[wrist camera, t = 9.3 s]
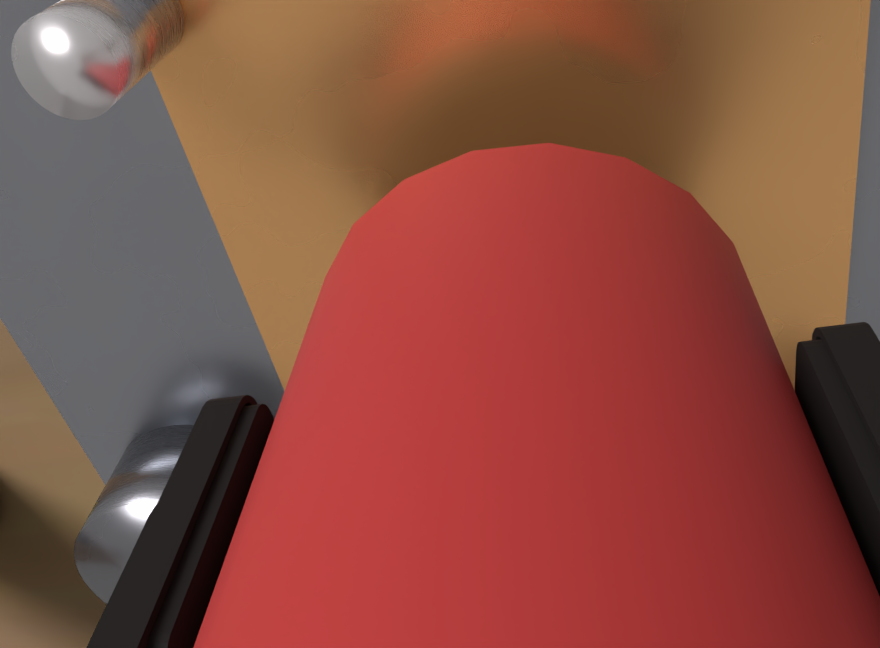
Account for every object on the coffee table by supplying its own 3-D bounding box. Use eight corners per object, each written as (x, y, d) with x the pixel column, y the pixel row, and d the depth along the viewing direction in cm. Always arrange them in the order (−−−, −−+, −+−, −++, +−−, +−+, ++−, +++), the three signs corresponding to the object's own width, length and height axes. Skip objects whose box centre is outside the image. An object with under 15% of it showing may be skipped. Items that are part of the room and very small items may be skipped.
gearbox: (1477, -606, 11) (2464, -952, 5) (1140, 376, 20) (1372, 618, 15) (-118, -163, 16) (-471, -101, 10) (210, 469, 25) (121, 680, 20)
